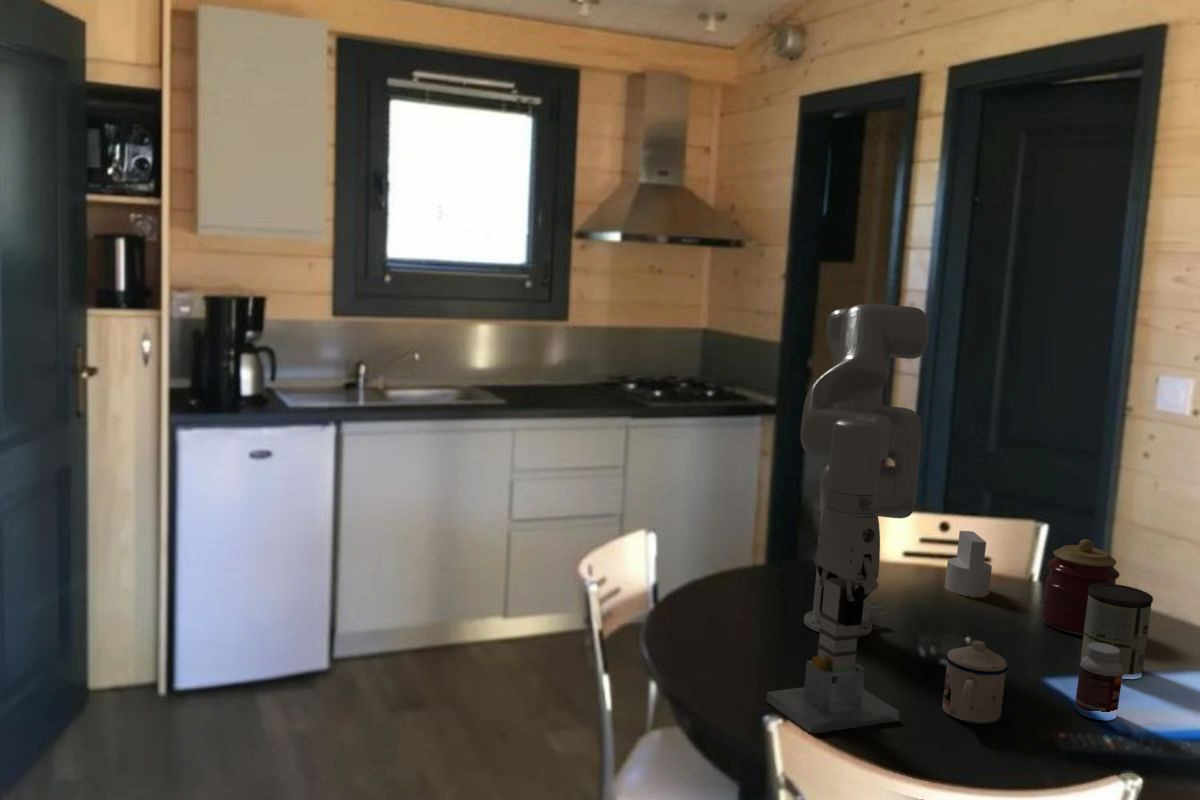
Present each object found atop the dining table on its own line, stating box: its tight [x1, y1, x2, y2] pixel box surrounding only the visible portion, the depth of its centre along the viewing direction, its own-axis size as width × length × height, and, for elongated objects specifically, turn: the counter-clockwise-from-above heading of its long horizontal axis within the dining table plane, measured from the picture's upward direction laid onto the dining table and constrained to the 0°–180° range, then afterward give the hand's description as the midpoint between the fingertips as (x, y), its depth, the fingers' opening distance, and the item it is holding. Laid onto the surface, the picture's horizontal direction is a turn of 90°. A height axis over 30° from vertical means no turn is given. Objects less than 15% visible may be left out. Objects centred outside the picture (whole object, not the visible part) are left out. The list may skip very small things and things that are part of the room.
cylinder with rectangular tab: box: [944, 530, 993, 598], centre depth 235 cm, size 9×9×12 cm
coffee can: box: [1080, 583, 1154, 674], centre depth 193 cm, size 10×10×14 cm
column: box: [817, 578, 860, 678], centre depth 167 cm, size 4×4×14 cm
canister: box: [1041, 538, 1121, 633], centre depth 215 cm, size 13×13×18 cm
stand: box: [765, 655, 900, 735], centre depth 169 cm, size 16×12×9 cm
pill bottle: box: [1074, 643, 1123, 712], centre depth 173 cm, size 6×6×11 cm
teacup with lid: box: [942, 640, 1009, 722], centre depth 169 cm, size 12×9×12 cm
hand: (840, 617), depth 167 cm, fingers open, 5 cm apart
